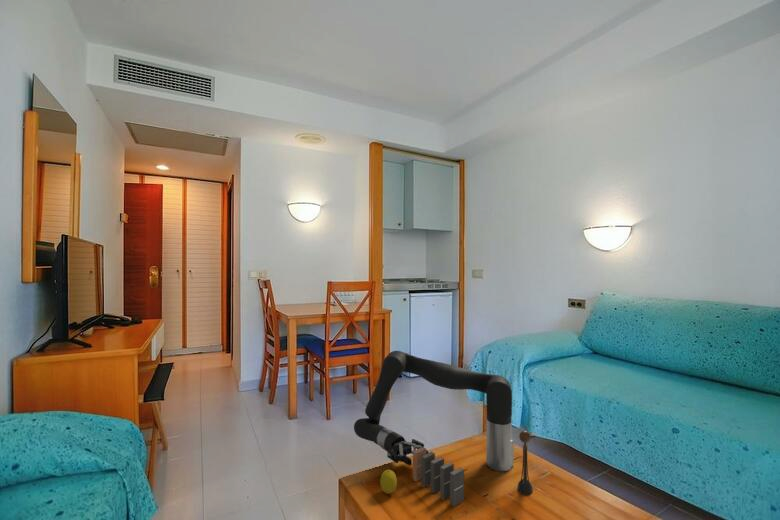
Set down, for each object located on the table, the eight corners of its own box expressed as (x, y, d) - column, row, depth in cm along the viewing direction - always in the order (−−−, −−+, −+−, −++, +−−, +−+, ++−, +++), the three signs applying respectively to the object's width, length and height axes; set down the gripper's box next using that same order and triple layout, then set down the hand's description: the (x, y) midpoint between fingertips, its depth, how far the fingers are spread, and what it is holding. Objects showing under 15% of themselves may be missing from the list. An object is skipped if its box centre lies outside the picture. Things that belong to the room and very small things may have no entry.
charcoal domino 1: (421, 485, 126) (421, 456, 126) (431, 479, 129) (431, 451, 129) (424, 487, 125) (424, 458, 125) (434, 482, 128) (434, 453, 128)
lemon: (398, 490, 123) (398, 466, 123) (393, 500, 117) (393, 475, 118) (383, 487, 124) (383, 464, 125) (377, 497, 119) (377, 472, 119)
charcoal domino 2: (430, 491, 122) (430, 461, 123) (440, 485, 126) (440, 456, 126) (434, 493, 121) (434, 463, 121) (444, 487, 124) (444, 458, 125)
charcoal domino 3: (440, 497, 119) (440, 466, 119) (450, 491, 122) (450, 461, 123) (443, 500, 118) (443, 469, 118) (453, 493, 121) (453, 463, 121)
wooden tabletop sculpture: (531, 485, 126) (531, 427, 127) (538, 493, 122) (538, 433, 122) (515, 486, 125) (515, 428, 126) (521, 494, 121) (521, 434, 121)
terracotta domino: (413, 479, 129) (413, 451, 129) (422, 474, 132) (422, 446, 133) (416, 481, 128) (416, 453, 128) (426, 476, 131) (426, 448, 131)
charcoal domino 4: (449, 504, 116) (450, 472, 116) (460, 497, 119) (460, 467, 119) (453, 506, 115) (453, 474, 115) (463, 500, 118) (463, 469, 118)
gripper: (376, 437, 138) (405, 454, 126) (404, 426, 147) (433, 442, 135) (376, 457, 138) (404, 476, 126) (404, 445, 147) (433, 462, 135)
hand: (419, 458), depth 130 cm, fingers open, 8 cm apart
